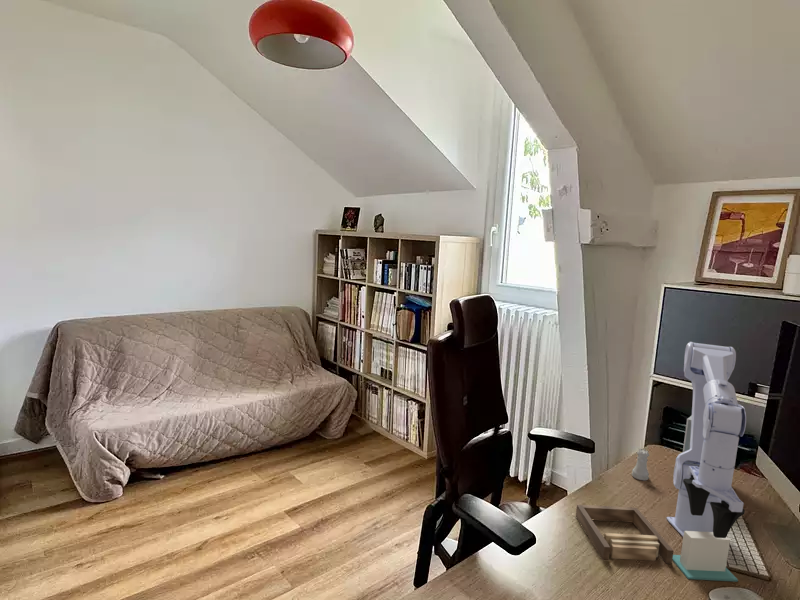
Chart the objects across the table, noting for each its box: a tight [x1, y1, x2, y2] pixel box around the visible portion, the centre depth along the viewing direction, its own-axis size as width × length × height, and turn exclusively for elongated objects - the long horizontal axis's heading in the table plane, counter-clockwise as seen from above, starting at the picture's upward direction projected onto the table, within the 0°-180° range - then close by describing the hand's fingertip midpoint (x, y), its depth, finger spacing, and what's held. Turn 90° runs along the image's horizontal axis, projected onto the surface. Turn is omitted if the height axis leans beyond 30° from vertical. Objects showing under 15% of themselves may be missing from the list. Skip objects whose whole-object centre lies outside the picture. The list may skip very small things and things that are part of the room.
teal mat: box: [672, 554, 739, 583], centre depth 102 cm, size 10×7×1 cm
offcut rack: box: [575, 504, 675, 565], centre depth 111 cm, size 14×16×3 cm
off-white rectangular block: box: [680, 531, 731, 571], centre depth 102 cm, size 8×2×7 cm, turn 91°
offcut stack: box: [603, 532, 659, 562], centre depth 105 cm, size 11×3×4 cm, turn 90°
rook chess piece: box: [631, 448, 650, 482], centre depth 141 cm, size 4×4×8 cm
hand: (707, 525), depth 101 cm, fingers open, 7 cm apart
